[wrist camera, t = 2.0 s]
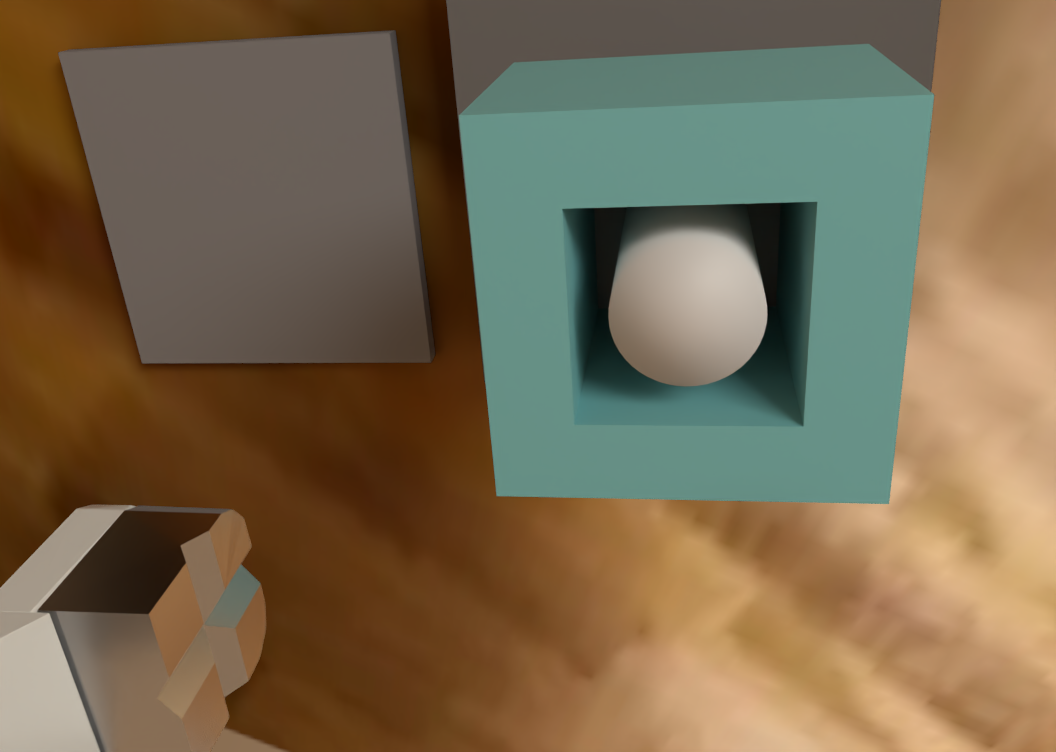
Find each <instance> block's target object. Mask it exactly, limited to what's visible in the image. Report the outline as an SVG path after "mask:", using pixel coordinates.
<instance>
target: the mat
mask: <svg viewBox="0 0 1056 752" xmlns="http://www.w3.org/2000/svg"><path fill="white" fill-rule="evenodd" d="M58 54H59V58H60V61H61V65H62V69H63V73H64V76H65V80H66V84H67V87H68V91H69V95H70V98H71V102H72V106H73V110H74V113H75V117H76V121H77V124H78V128H79V132H80V135H81V139H82V143H83V147H84V150H85V154H86V158H87V161H88V165H89V169H90V173H91V176H92V180H93V184H94V187H95V191H96V195H97V198H98V202H99V206H100V210H101V213H102V217H103V221H104V224H105V228H106V232H107V235H108V239H109V243H110V247H111V250H112V254H113V258H114V261H115V265H116V269H117V272H118V276H119V280H120V284H121V287H122V291H123V295H124V298H125V302H126V306H127V309H128V313H129V317H130V321H131V324H132V328H133V332H134V335H135V339H136V343H137V346H138V350H139V354H140V358H141V361H142V363H431V362H432V360H433V358H434V356H435V348H434V339H433V331H432V323H431V315H430V307H429V299H428V291H427V283H426V274H425V266H424V258H423V250H422V242H421V234H420V226H419V218H418V209H417V201H416V193H415V185H414V177H413V169H412V161H411V153H410V144H409V136H408V128H407V120H406V112H405V104H404V96H403V88H402V79H401V71H400V63H399V55H398V47H397V39H396V31H395V30H394V31H377V32H360V33H343V34H327V35H310V36H293V37H276V38H259V39H242V40H225V41H208V42H192V43H175V44H158V45H141V46H124V47H107V48H90V49H74V50H67V51H63V52H58Z"/></svg>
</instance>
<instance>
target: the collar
mask: <svg viewBox="0 0 1056 752" xmlns="http://www.w3.org/2000/svg"><path fill="white" fill-rule="evenodd" d="M933 101H934V94H933V93H932V92H930V91H929V90H928V89H926V88H925V87H924V86H923V85H921V84H920V83H919V82H917V81H916V80H915V79H914V78H912V77H911V76H910V75H908V74H907V73H906V72H905V71H903V70H902V69H901V68H899V67H898V66H897V65H896V64H894V63H893V62H892V61H890V60H889V59H888V58H887V57H885V56H884V55H883V54H881V53H880V52H879V51H878V50H876V49H875V48H874V47H872V46H871V45H870V44H855V45H836V46H817V47H798V48H779V49H760V50H741V51H722V52H703V53H684V54H665V55H646V56H627V57H608V58H589V59H570V60H551V61H532V62H514V63H513V64H512V65H511V66H510V67H509V68H507V69H506V70H505V71H504V72H503V73H502V74H501V75H500V76H499V77H498V78H497V79H496V80H495V81H494V82H493V83H492V84H491V85H490V86H489V87H488V88H487V89H486V90H485V91H484V92H483V93H482V94H481V95H480V96H478V97H477V98H476V99H475V100H474V101H473V102H472V103H471V104H470V105H469V106H468V107H467V108H466V109H465V110H464V111H463V112H462V113H461V114H460V115H459V122H460V132H461V143H462V153H463V163H464V173H465V183H466V193H467V203H468V213H469V223H470V233H471V243H472V253H473V263H474V273H475V283H476V293H477V303H478V313H479V323H480V333H481V343H482V353H483V363H484V373H485V383H486V393H487V403H488V414H489V424H490V434H491V444H492V454H493V464H494V474H495V484H496V494H497V496H520V497H570V498H620V499H669V500H719V501H769V502H819V503H869V504H889V499H890V490H891V481H892V472H893V463H894V454H895V444H896V435H897V426H898V417H899V408H900V399H901V390H902V381H903V372H904V363H905V354H906V345H907V336H908V327H909V318H910V309H911V300H912V291H913V282H914V273H915V264H916V255H917V246H918V236H919V227H920V218H921V209H922V200H923V191H924V182H925V173H926V164H927V155H928V146H929V137H930V128H931V119H932V110H933ZM752 203H781V206H780V228H779V250H778V272H777V294H776V307H767V324H766V328H765V332H764V335H763V338H762V340H761V343H760V344H759V346H758V348H757V350H756V351H755V353H754V354H753V355H752V356H751V358H750V359H749V360H748V361H747V362H746V363H745V364H744V365H743V366H742V367H741V368H739V369H738V370H737V371H735V372H734V373H732V374H731V375H729V376H727V377H725V378H723V379H721V380H718V381H716V382H712V383H709V384H705V385H699V386H674V385H669V384H665V383H661V382H658V381H656V380H653V379H651V378H649V377H647V376H645V375H644V374H642V373H640V372H639V371H638V370H636V369H635V368H634V367H632V366H631V365H630V364H629V363H628V362H627V361H626V360H625V358H624V357H623V356H622V354H621V353H620V352H619V350H618V348H617V347H616V345H615V343H614V340H613V338H612V335H611V331H610V327H609V319H608V313H609V308H603V309H598V291H597V266H596V242H595V218H594V208H609V207H644V206H680V205H716V204H752Z"/></svg>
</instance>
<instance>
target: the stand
mask: <svg viewBox="0 0 1056 752" xmlns="http://www.w3.org/2000/svg"><path fill="white" fill-rule="evenodd" d="M446 3H447V13H448V23H449V33H450V43H451V53H452V63H453V73H454V83H455V93H456V103H457V113H458V123H459V133H460V143H461V132H460V122H459V115H460V114H461V113H462V112H463V111H464V110H465V109H466V108H467V107H468V106H469V105H470V104H471V103H472V102H473V101H474V100H475V99H476V98H477V97H478V96H480V95H481V94H482V93H483V92H484V91H485V90H486V89H487V88H488V87H489V86H490V85H491V84H492V83H493V82H494V81H495V80H496V79H497V78H498V77H499V76H500V75H501V74H502V73H503V72H504V71H505V70H506V69H507V68H509V67H510V66H511V65H512V64H513V63H514V62H532V61H551V60H570V59H589V58H608V57H627V56H646V55H665V54H684V53H703V52H722V51H741V50H760V49H779V48H798V47H817V46H836V45H855V44H870V45H871V46H872V47H874V48H875V49H876V50H878V51H879V52H880V53H881V54H883V55H884V56H885V57H887V58H888V59H889V60H890V61H892V62H893V63H894V64H896V65H897V66H898V67H899V68H901V69H902V70H903V71H905V72H906V73H907V74H908V75H910V76H911V77H912V78H914V79H915V80H916V81H917V82H919V83H920V84H921V85H923V86H924V87H925V88H926V89H928V90H929V91H930V92H931V88H932V79H933V70H934V61H935V52H936V42H937V33H938V24H939V15H940V6H941V0H446ZM461 153H462V143H461ZM462 163H463V153H462ZM463 173H464V163H463ZM464 183H465V173H464ZM465 193H466V183H465ZM466 203H467V193H466ZM780 206H781V203H752V204H716V205H680V206H644V207H609V208H594V218H595V242H596V266H597V291H598V309H603V308H609V313H608V319H609V327H610V331H611V335H612V338H613V340H614V343H615V345H616V347H617V348H618V350H619V352H620V353H621V354H622V356H623V357H624V358H625V360H626V361H627V362H628V363H629V364H630V365H631V366H632V367H634V368H635V369H636V370H638V371H639V372H640V373H642V374H644V375H645V376H647V377H649V378H651V379H653V380H656V381H658V382H661V383H665V384H669V385H674V386H699V385H705V384H709V383H712V382H716V381H718V380H721V379H723V378H725V377H727V376H729V375H731V374H732V373H734V372H735V371H737V370H738V369H739V368H741V367H742V366H743V365H744V364H745V363H746V362H747V361H748V360H749V359H750V358H751V356H752V355H753V354H754V353H755V351H756V350H757V348H758V346H759V344H760V343H761V340H762V338H763V335H764V332H765V328H766V324H767V307H776V294H777V272H778V250H779V228H780ZM467 213H468V203H467ZM468 223H469V213H468ZM469 233H470V223H469ZM470 243H471V233H470ZM471 253H472V243H471ZM472 263H473V253H472ZM473 273H474V263H473ZM474 283H475V273H474ZM475 293H476V283H475ZM476 303H477V293H476ZM477 313H478V303H477ZM478 323H479V313H478ZM479 333H480V323H479ZM480 343H481V333H480ZM481 353H482V343H481ZM482 363H483V353H482ZM483 373H484V363H483ZM484 382H485V373H484Z"/></svg>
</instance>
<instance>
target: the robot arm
mask: <svg viewBox="0 0 1056 752" xmlns="http://www.w3.org/2000/svg"><path fill="white" fill-rule="evenodd" d="M251 547H252V545H251V542H250V538H249V535H248V531H247V528H246V524H245V521H244V518H243V517H242V516H241V515H239V514H238V513H237V512H235V511H234V510H233V509H213V508H187V507H161V506H137V507H135V506H131V505H89V506H86V507H82V508H78V509H76V510H75V511H74V512H73V513H72V514H71V515H70V516H69V517H68V518H67V519H66V520H65V521H64V522H63V523H62V525H61V526H60V527H59V528H58V529H57V530H56V531H55V532H54V533H53V534H52V535H51V536H50V537H49V538H48V539H47V540H46V541H45V542H44V543H43V544H42V545H41V546H40V547H39V548H38V549H37V550H36V551H35V553H34V554H33V555H32V556H31V557H30V558H29V559H28V560H27V561H26V562H25V563H24V564H23V565H22V566H21V567H20V568H19V569H18V570H17V571H16V572H15V573H14V574H13V575H12V576H11V577H10V578H9V579H8V581H7V582H6V583H5V584H4V585H3V586H2V587H1V588H0V752H211V751H212V749H213V747H214V745H215V743H216V741H217V739H218V737H219V736H220V734H221V732H222V730H223V728H224V726H225V725H226V723H227V721H228V719H229V713H228V710H227V706H226V702H225V698H224V697H226V696H227V695H229V694H230V693H232V692H233V691H235V690H236V689H237V688H239V687H240V686H242V685H243V684H245V683H246V682H248V681H249V679H250V677H251V675H252V673H253V671H254V669H255V667H256V665H257V663H258V661H259V659H260V656H261V651H262V646H263V641H264V636H265V632H266V605H265V600H264V596H263V591H262V587H261V583H260V582H259V581H258V580H257V579H256V578H255V577H254V576H253V575H251V574H250V573H249V572H248V571H247V570H246V569H245V568H244V567H243V566H242V565H241V564H242V562H243V560H244V559H245V557H246V555H247V554H248V552H249V550H250V548H251Z"/></svg>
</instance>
